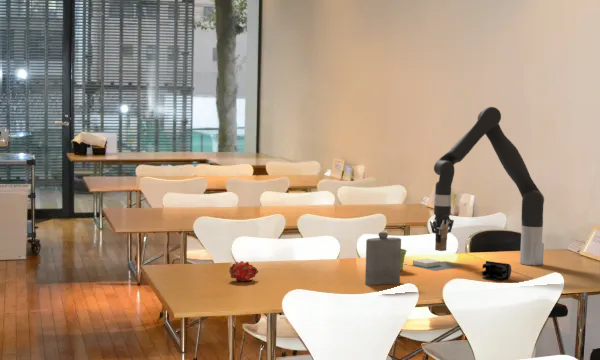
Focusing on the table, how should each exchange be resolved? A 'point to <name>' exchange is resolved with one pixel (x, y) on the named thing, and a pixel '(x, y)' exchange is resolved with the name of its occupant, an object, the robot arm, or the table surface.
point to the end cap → (496, 271)
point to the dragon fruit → (242, 271)
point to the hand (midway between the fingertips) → (441, 242)
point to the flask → (383, 260)
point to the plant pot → (402, 258)
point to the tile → (426, 263)
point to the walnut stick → (442, 239)
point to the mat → (440, 267)
